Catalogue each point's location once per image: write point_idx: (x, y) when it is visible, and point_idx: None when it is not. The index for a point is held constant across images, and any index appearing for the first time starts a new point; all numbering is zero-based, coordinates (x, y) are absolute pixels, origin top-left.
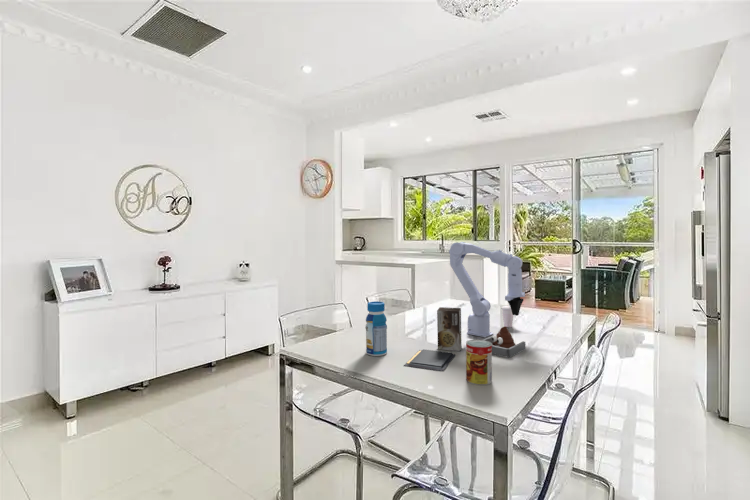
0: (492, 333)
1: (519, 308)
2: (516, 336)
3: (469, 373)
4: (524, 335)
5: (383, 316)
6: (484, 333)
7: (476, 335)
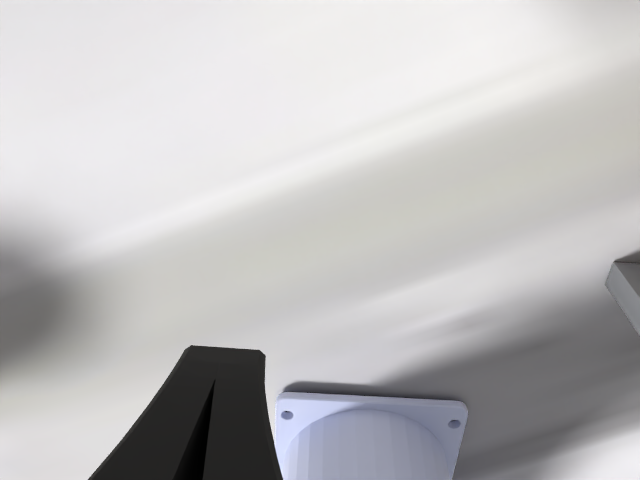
0: (301, 400)
1: (145, 471)
2: (175, 185)
3: None
4: (48, 125)
5: None
6: (427, 441)
7: (451, 469)
